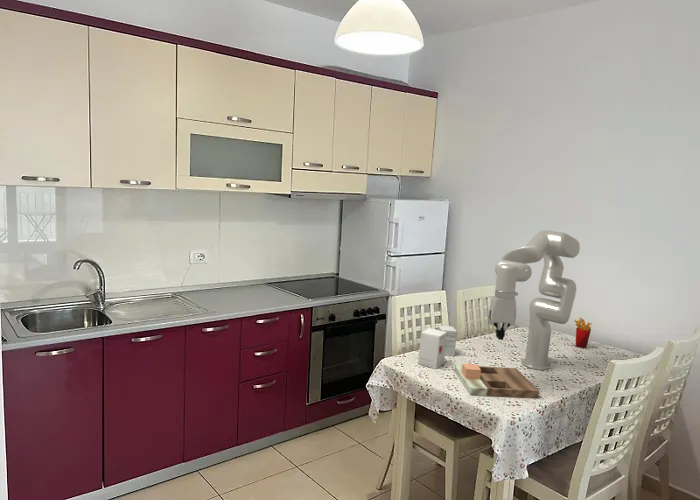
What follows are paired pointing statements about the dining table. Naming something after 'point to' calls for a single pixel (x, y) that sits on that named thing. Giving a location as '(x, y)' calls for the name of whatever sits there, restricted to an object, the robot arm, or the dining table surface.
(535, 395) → the board
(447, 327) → the supplement box
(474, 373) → the terracotta block
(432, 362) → the supplement box
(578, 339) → the french fries
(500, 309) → the robot arm
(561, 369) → the dining table surface
